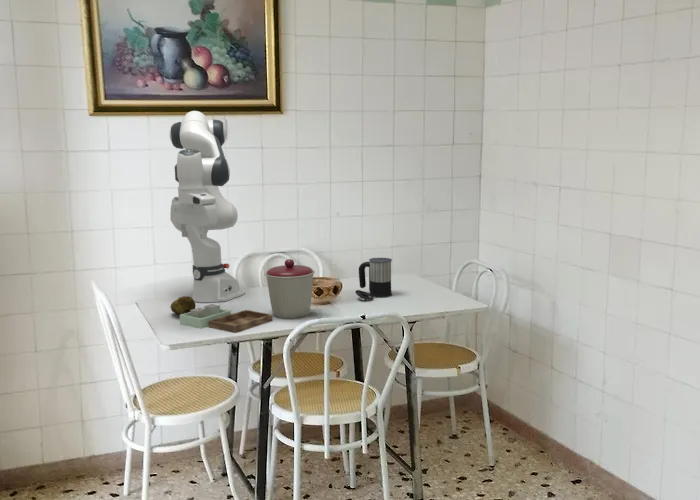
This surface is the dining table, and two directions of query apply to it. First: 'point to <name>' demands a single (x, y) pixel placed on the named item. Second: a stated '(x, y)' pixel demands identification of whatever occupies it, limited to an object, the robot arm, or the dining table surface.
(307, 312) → the canister
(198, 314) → the stone
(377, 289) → the milk frother
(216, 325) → the walnut tray
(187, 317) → the green bin
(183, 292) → the dining table surface
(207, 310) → the stone
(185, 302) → the potato
